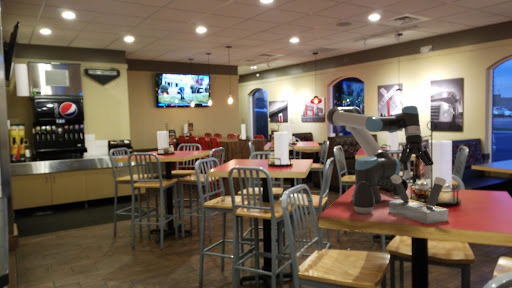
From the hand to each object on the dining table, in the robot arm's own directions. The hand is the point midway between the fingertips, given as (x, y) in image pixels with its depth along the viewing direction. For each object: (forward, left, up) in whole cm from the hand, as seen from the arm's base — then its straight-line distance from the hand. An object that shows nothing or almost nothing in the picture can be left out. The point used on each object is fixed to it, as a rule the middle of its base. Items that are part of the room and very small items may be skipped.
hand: (418, 178), depth 188 cm
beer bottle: (-34, +34, -15) cm, 51 cm away
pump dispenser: (-6, -28, -15) cm, 32 cm away
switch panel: (+10, -11, -15) cm, 21 cm away
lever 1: (+3, -11, -10) cm, 15 cm away
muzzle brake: (-41, +17, -15) cm, 47 cm away
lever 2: (+17, -11, -10) cm, 22 cm away
